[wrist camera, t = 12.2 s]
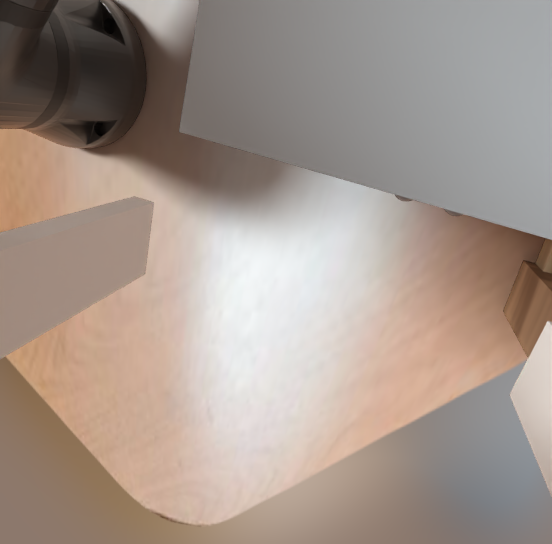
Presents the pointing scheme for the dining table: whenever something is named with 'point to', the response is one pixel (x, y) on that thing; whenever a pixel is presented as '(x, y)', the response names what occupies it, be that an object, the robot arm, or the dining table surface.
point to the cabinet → (387, 96)
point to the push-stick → (531, 299)
